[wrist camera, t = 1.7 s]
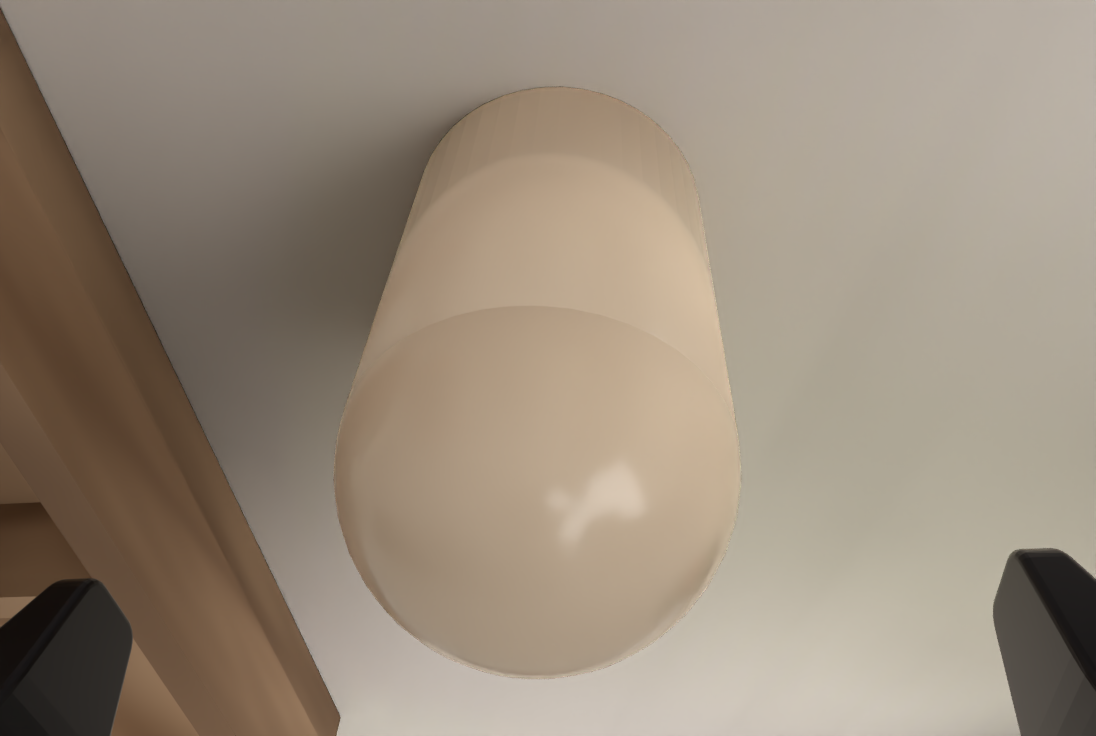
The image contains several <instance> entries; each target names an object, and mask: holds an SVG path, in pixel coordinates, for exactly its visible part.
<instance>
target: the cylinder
mask: <svg viewBox="0 0 1096 736" xmlns="http://www.w3.org/2000/svg"><path fill="white" fill-rule="evenodd" d="M333 480H334V490H335V500H336V507H337V514H338V519H339V523H340V526H341V530H342V533H343V536H344V539H345V542H346V545H347V548H348V551H349V554H350V556H351V558H352V560H353V562H354V564H355V566H356V568H357V570H358V572H359V574H360V575H361V577H362V579H363V581H364V583H365V584H366V586H367V587H368V589H369V590H370V592H371V593H372V595H373V596H374V597H375V599H376V600H377V601H378V602H379V604H380V605H381V606H382V607H383V608H384V609H385V610H386V612H387V613H388V614H389V615H390V616H391V617H392V618H393V619H394V620H395V621H396V622H397V624H399V625H400V626H401V627H402V628H403V629H404V630H406V631H407V632H408V633H409V634H410V635H412V636H413V637H415V638H416V639H417V640H419V641H420V642H421V643H423V644H424V645H426V646H427V647H429V648H430V649H432V650H433V651H435V652H437V653H438V654H440V655H442V656H444V657H446V658H448V659H450V660H452V661H455V662H457V663H460V664H462V665H465V666H468V667H471V668H474V669H477V670H480V671H483V672H486V673H490V674H495V675H499V676H505V677H511V678H521V679H553V678H561V677H568V676H574V675H579V674H584V673H589V672H593V671H596V670H599V669H602V668H606V667H608V666H611V665H613V664H615V663H618V662H620V661H622V660H624V659H626V658H628V657H630V656H632V655H634V654H635V653H637V652H639V651H641V650H643V649H644V648H646V647H648V646H649V645H651V644H652V643H654V642H655V641H656V640H658V639H659V638H660V637H662V636H663V635H664V634H665V633H666V632H668V631H669V630H670V629H671V628H672V627H673V626H675V625H676V624H677V623H678V622H679V621H680V620H681V619H682V618H683V617H684V616H685V615H686V614H687V613H688V612H689V610H690V609H691V608H692V606H693V605H694V604H695V603H696V601H697V600H698V599H699V598H700V596H701V595H702V594H703V592H704V591H705V590H706V589H707V587H708V586H709V584H710V582H711V580H712V578H713V577H714V575H715V573H716V571H717V569H718V567H719V565H720V563H721V561H722V559H723V558H724V556H725V554H726V551H727V548H728V545H729V542H730V538H731V535H732V532H733V529H734V525H735V522H736V519H737V513H738V505H739V497H740V489H741V480H742V477H741V462H740V448H739V437H738V431H737V425H736V419H735V413H734V407H733V401H732V395H731V389H730V383H729V377H728V371H727V365H726V359H725V353H724V347H723V341H722V335H721V329H720V323H719V317H718V311H717V305H716V299H715V293H714V287H713V281H712V275H711V269H710V263H709V257H708V251H707V245H706V239H705V233H704V227H703V221H702V215H701V209H700V203H699V197H698V193H697V189H696V185H695V180H694V178H693V175H692V173H691V170H690V168H689V165H688V163H687V161H686V160H685V158H684V156H683V155H682V153H681V151H680V149H679V148H678V147H677V145H676V144H675V143H674V142H673V140H672V139H671V138H670V137H669V135H668V134H667V133H666V132H665V131H664V130H663V129H662V128H661V127H660V126H658V125H657V124H656V123H655V122H654V121H653V120H652V119H650V118H649V117H647V116H646V115H645V114H643V113H642V112H640V111H639V110H638V109H636V108H634V107H632V106H630V105H628V104H626V103H624V102H622V101H621V100H618V99H615V98H613V97H610V96H607V95H604V94H602V93H598V92H593V91H589V90H585V89H578V88H569V87H540V88H534V89H527V90H521V91H518V92H514V93H511V94H507V95H504V96H501V97H499V98H497V99H494V100H492V101H490V102H488V103H485V104H483V105H482V106H480V107H479V108H477V109H475V110H474V111H472V112H470V113H469V114H467V115H466V116H465V117H464V118H463V119H461V120H460V121H459V122H458V123H457V124H455V125H454V126H453V127H452V128H451V130H450V131H449V132H448V133H447V134H446V135H445V136H444V137H443V138H442V140H441V141H440V143H439V144H438V146H437V147H436V149H435V150H434V152H433V153H432V155H431V157H430V159H429V161H428V163H427V165H426V168H425V170H424V173H423V176H422V179H421V182H420V185H419V188H418V191H417V194H416V197H415V200H414V203H413V206H412V208H411V211H410V214H409V217H408V220H407V223H406V226H405V229H404V232H403V235H402V238H401V241H400V244H399V247H398V250H397V253H396V256H395V259H394V262H393V265H392V268H391V271H390V274H389V277H388V280H387V283H386V286H385V289H384V292H383V295H382V298H381V301H380V304H379V307H378V310H377V313H376V315H375V318H374V321H373V324H372V327H371V330H370V333H369V336H368V339H367V342H366V345H365V348H364V351H363V354H362V357H361V360H360V363H359V366H358V369H357V372H356V375H355V378H354V381H353V384H352V387H351V390H350V393H349V396H348V399H347V402H346V405H345V408H344V412H343V415H342V419H341V422H340V426H339V431H338V435H337V439H336V448H335V458H334V479H333Z"/></svg>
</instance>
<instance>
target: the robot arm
mask: <svg viewBox="0 0 1096 736" xmlns="http://www.w3.org/2000/svg"><path fill="white" fill-rule="evenodd" d="M993 619H994V626H995V631H996V635H997V639H998V643H999V647H1000V651H1001V655H1002V659H1003V663H1004V667H1005V672H1006V676H1007V680H1008V684H1009V688H1010V692H1011V696H1012V700H1013V704H1014V708H1015V713H1016V717H1017V721H1018V725H1019V729H1020V733H1021V736H1096V579H1095V578H1094V577H1093V576H1092V575H1091V574H1090V573H1088V572H1087V571H1086V570H1085V569H1084V568H1083V567H1082V566H1081V565H1079V564H1078V563H1077V562H1076V561H1075V560H1074V559H1073V558H1071V557H1070V556H1069V555H1068V554H1066V553H1065V552H1063V551H1061V550H1058V549H1053V548H1043V549H1019V550H1015V551H1014V552H1013V553H1011V554H1010V556H1009V558H1008V560H1007V563H1006V566H1005V569H1004V572H1003V575H1002V578H1001V581H1000V584H999V588H998V591H997V594H996V597H995V600H994V605H993ZM132 644H133V633H132V627H131V624H130V622H129V620H128V619H127V617H126V616H125V614H124V613H123V611H122V610H121V608H120V607H119V605H118V604H117V602H116V601H115V599H114V598H113V597H112V595H111V594H110V592H109V591H108V589H107V588H106V586H105V585H104V584H103V583H102V582H101V581H99V580H97V579H94V578H81V579H63V580H59V581H56V582H55V583H53V584H51V585H50V586H49V587H47V588H46V589H45V590H44V591H42V592H41V593H40V594H39V595H38V596H37V597H35V598H34V599H33V600H32V601H31V602H30V603H28V604H27V605H26V606H25V607H24V608H22V609H21V610H20V611H19V612H18V613H17V614H15V615H14V616H13V617H12V618H11V619H10V620H8V621H7V622H6V623H5V624H4V625H2V626H1V627H0V736H111V732H112V728H113V724H114V720H115V716H116V712H117V708H118V704H119V699H120V695H121V691H122V687H123V683H124V679H125V675H126V670H127V666H128V662H129V658H130V654H131V650H132Z"/></svg>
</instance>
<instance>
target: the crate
mask: <svg viewBox="0 0 1096 736" xmlns="http://www.w3.org/2000/svg"><path fill="white" fill-rule="evenodd" d="M81 578H94V579H97V580H99V581H101V582H102V583H103V584H104V585H105V586H106V588H107V589H108V591H109V592H110V594H111V595H112V597H113V598H114V599H115V601H116V602H117V604H118V605H119V607H120V608H121V610H122V611H123V613H124V614H125V616H126V617H127V619H128V620H129V622H130V624H131V627H132V633H133V644H132V650H131V654H130V658H129V662H128V666H127V670H126V675H125V679H124V683H123V687H122V691H121V695H120V699H119V704H118V708H117V712H116V716H115V720H114V724H113V728H112V732H111V736H336V734H337V730H338V726H339V722H340V718H341V717H340V715H339V713H338V711H337V709H336V707H335V705H334V703H333V701H332V698H331V696H330V694H329V692H328V690H327V688H326V686H325V684H324V682H323V680H322V678H321V676H320V673H319V671H318V669H317V667H316V665H315V663H314V661H313V659H312V657H311V655H310V653H309V651H308V648H307V646H306V644H305V642H304V640H303V638H302V636H301V634H300V632H299V630H298V628H297V626H296V623H295V621H294V619H293V617H292V615H291V613H290V611H289V609H288V607H287V605H286V603H285V601H284V598H283V596H282V594H281V592H280V590H279V588H278V586H277V584H276V582H275V580H274V578H273V576H272V573H271V571H270V569H269V567H268V565H267V563H266V561H265V559H264V557H263V555H262V553H261V551H260V548H259V546H258V544H257V542H256V540H255V538H254V536H253V534H252V532H251V530H250V528H249V526H248V523H247V521H246V519H245V517H244V515H243V513H242V511H241V509H240V507H239V505H238V503H237V501H236V499H235V496H234V494H233V492H232V490H231V488H230V486H229V484H228V482H227V480H226V478H225V476H224V474H223V471H222V469H221V467H220V465H219V463H218V461H217V459H216V457H215V455H214V453H213V451H212V449H211V446H210V444H209V442H208V440H207V438H206V436H205V434H204V432H203V430H202V428H201V426H200V424H199V421H198V419H197V417H196V415H195V413H194V411H193V409H192V407H191V405H190V403H189V401H188V399H187V396H186V394H185V392H184V390H183V388H182V386H181V384H180V382H179V380H178V378H177V376H176V374H175V371H174V369H173V367H172V365H171V363H170V361H169V359H168V357H167V355H166V353H165V351H164V349H163V346H162V344H161V342H160V340H159V338H158V336H157V334H156V332H155V330H154V328H153V326H152V324H151V321H150V319H149V317H148V315H147V313H146V311H145V309H144V307H143V305H142V303H141V301H140V299H139V296H138V294H137V292H136V290H135V288H134V286H133V284H132V282H131V280H130V278H129V276H128V274H127V271H126V269H125V267H124V265H123V263H122V261H121V259H120V257H119V255H118V253H117V251H116V249H115V246H114V244H113V242H112V240H111V238H110V236H109V234H108V232H107V230H106V228H105V226H104V224H103V222H102V219H101V217H100V215H99V213H98V211H97V209H96V207H95V205H94V203H93V201H92V199H91V197H90V194H89V192H88V190H87V188H86V186H85V184H84V182H83V180H82V178H81V176H80V174H79V172H78V169H77V167H76V165H75V163H74V161H73V159H72V157H71V155H70V153H69V151H68V149H67V147H66V144H65V142H64V140H63V138H62V136H61V134H60V132H59V130H58V128H57V126H56V124H55V122H54V119H53V117H52V115H51V113H50V111H49V109H48V107H47V105H46V103H45V101H44V99H43V97H42V94H41V92H40V90H39V88H38V86H37V84H36V82H35V80H34V78H33V76H32V74H31V72H30V69H29V67H28V65H27V63H26V61H25V59H24V57H23V55H22V53H21V51H20V49H19V47H18V44H17V42H16V40H15V38H14V36H13V34H12V32H11V30H10V28H9V26H8V24H7V22H6V19H5V17H4V15H3V13H2V11H1V9H0V627H1V626H2V625H4V624H5V623H6V622H7V621H8V620H10V619H11V618H12V617H13V616H14V615H15V614H17V613H18V612H19V611H20V610H21V609H22V608H24V607H25V606H26V605H27V604H28V603H30V602H31V601H32V600H33V599H34V598H35V597H37V596H38V595H39V594H40V593H41V592H42V591H44V590H45V589H46V588H47V587H49V586H50V585H51V584H53V583H55V582H56V581H59V580H63V579H81Z"/></svg>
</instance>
